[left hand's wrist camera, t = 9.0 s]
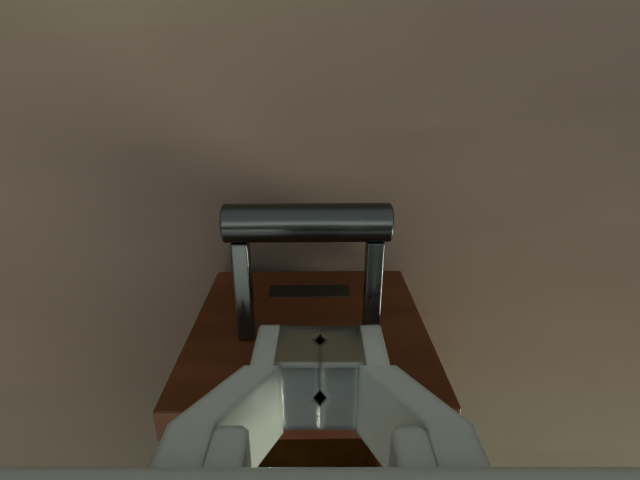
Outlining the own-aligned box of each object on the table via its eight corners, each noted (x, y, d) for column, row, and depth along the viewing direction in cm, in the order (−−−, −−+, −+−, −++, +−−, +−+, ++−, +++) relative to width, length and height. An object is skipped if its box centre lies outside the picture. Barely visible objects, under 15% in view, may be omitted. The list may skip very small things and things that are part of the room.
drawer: (207, 168, 19) (119, 250, 10) (408, 168, 19) (489, 247, 10) (241, 494, 27) (207, 693, 18) (382, 492, 27) (415, 688, 19)
